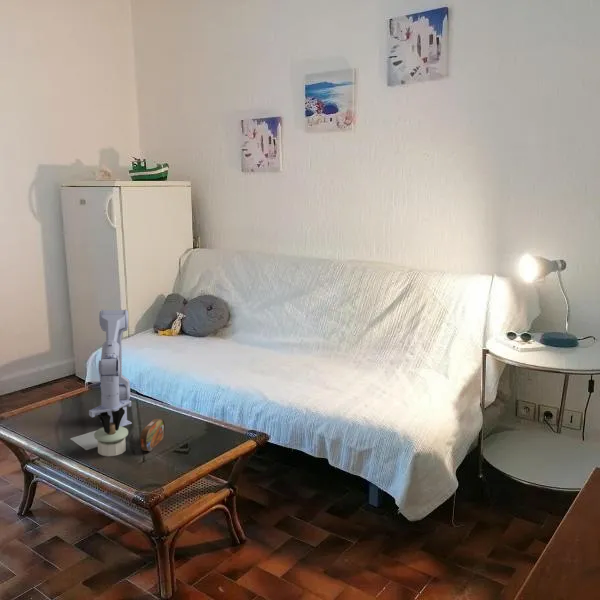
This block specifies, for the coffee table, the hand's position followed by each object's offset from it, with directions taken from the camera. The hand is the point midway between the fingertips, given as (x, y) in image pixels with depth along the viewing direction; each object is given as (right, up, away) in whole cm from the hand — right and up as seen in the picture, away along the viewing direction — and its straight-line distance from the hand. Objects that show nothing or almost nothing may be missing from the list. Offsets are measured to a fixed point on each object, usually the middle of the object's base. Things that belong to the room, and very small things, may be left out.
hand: (111, 430), depth 200 cm
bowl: (0, -7, +2) cm, 8 cm away
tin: (+12, -7, +7) cm, 16 cm away
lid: (0, -1, 0) cm, 1 cm away
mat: (-9, -5, +9) cm, 14 cm away
